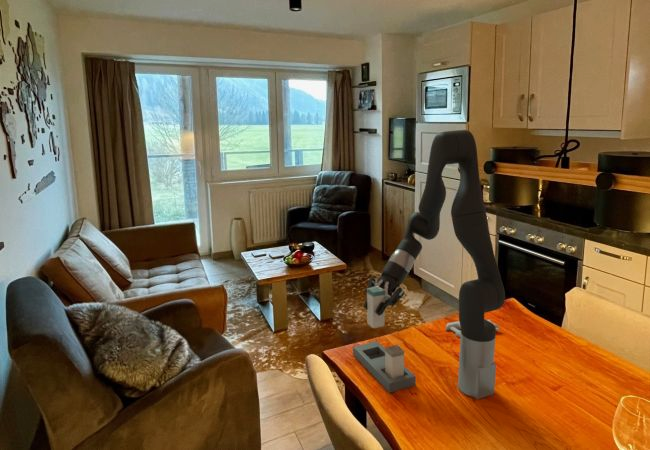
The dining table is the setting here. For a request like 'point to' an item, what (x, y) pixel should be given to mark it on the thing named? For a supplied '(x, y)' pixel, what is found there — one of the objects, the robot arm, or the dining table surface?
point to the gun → (455, 325)
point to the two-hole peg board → (385, 365)
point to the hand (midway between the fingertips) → (371, 311)
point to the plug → (374, 306)
